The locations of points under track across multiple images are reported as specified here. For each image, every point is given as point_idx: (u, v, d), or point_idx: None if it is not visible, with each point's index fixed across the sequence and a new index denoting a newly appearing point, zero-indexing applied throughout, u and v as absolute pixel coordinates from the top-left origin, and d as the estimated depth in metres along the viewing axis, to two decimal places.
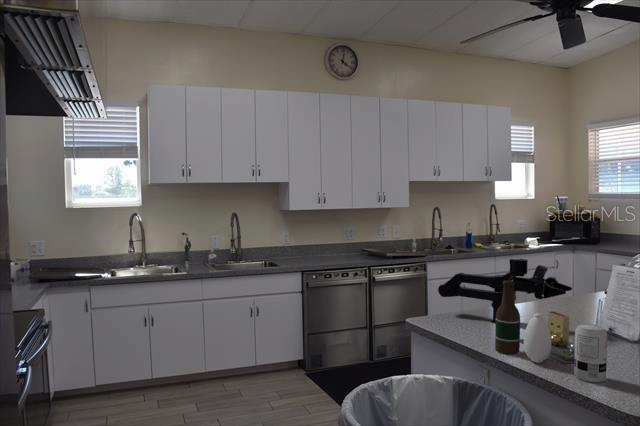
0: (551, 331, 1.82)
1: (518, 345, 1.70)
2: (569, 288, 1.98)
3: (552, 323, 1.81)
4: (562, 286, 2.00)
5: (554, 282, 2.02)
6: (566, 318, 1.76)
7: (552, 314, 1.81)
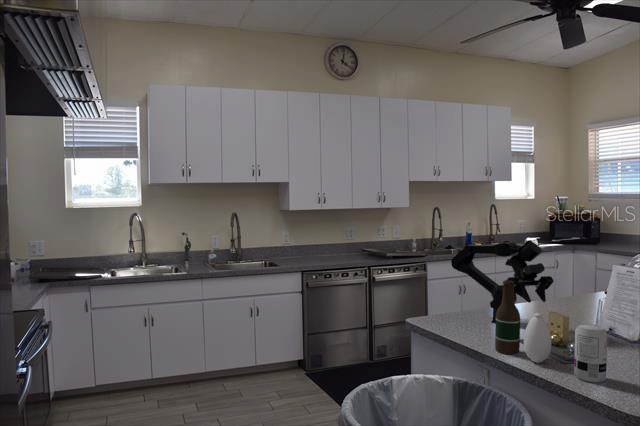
0: (551, 331, 1.82)
1: (518, 345, 1.70)
2: (543, 299, 1.93)
3: (552, 323, 1.81)
4: (541, 293, 1.94)
5: (540, 284, 1.96)
6: (566, 318, 1.76)
7: (552, 314, 1.81)
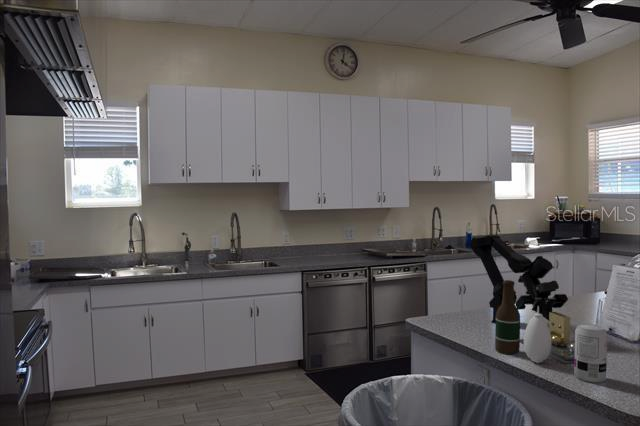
0: (552, 331, 1.81)
1: (518, 345, 1.70)
2: None
3: (553, 323, 1.81)
4: (548, 312, 1.86)
5: (547, 303, 1.87)
6: (567, 318, 1.75)
7: (553, 314, 1.81)
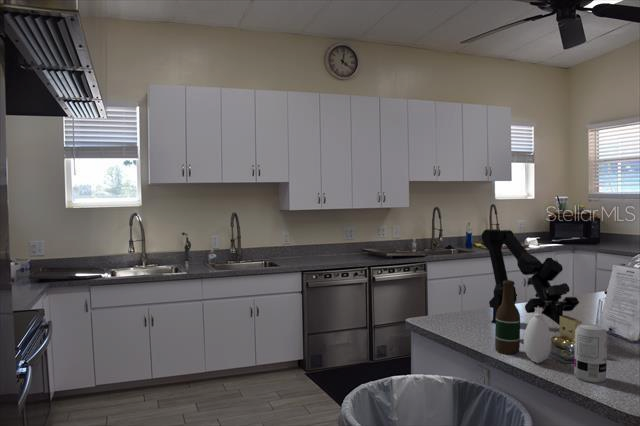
0: (563, 336, 1.76)
1: (518, 345, 1.70)
2: None
3: (564, 328, 1.75)
4: (559, 316, 1.80)
5: (557, 306, 1.81)
6: (578, 322, 1.70)
7: (564, 318, 1.75)
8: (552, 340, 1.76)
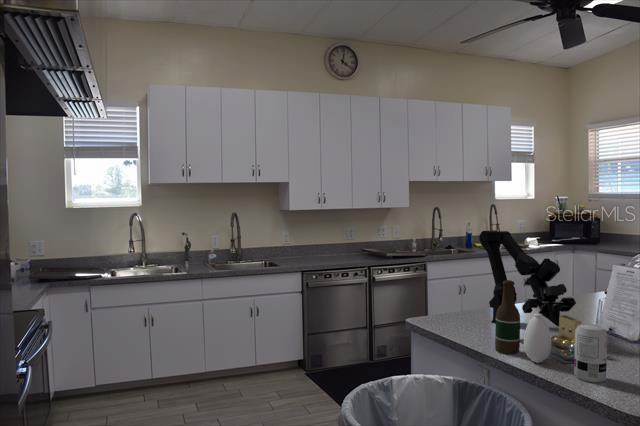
0: (562, 336, 1.76)
1: (518, 345, 1.70)
2: None
3: (563, 327, 1.75)
4: (556, 316, 1.81)
5: (555, 307, 1.83)
6: (578, 322, 1.70)
7: (563, 318, 1.75)
8: (551, 339, 1.77)
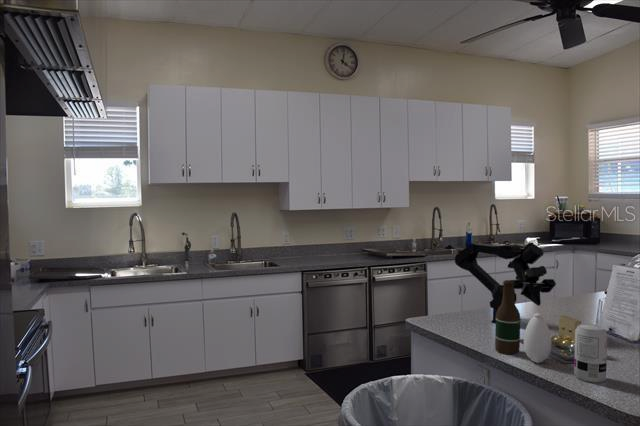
0: (562, 336, 1.76)
1: (518, 345, 1.70)
2: None
3: (563, 327, 1.75)
4: None
5: (535, 288, 1.94)
6: (578, 322, 1.70)
7: (563, 318, 1.75)
8: (551, 339, 1.77)
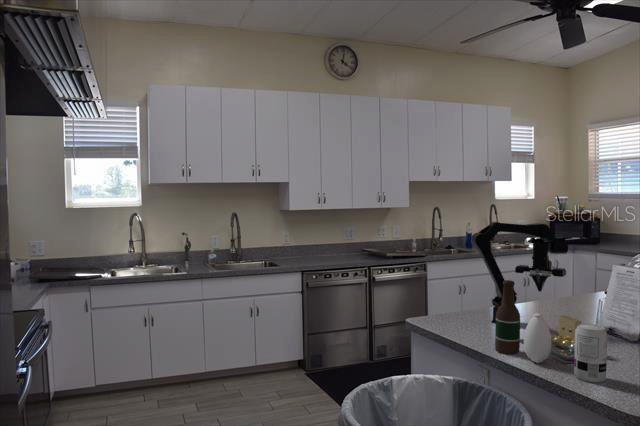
0: (562, 336, 1.76)
1: (518, 345, 1.70)
2: None
3: (563, 327, 1.75)
4: (539, 283, 2.11)
5: (539, 275, 2.12)
6: (578, 322, 1.70)
7: (563, 318, 1.75)
8: (551, 339, 1.77)
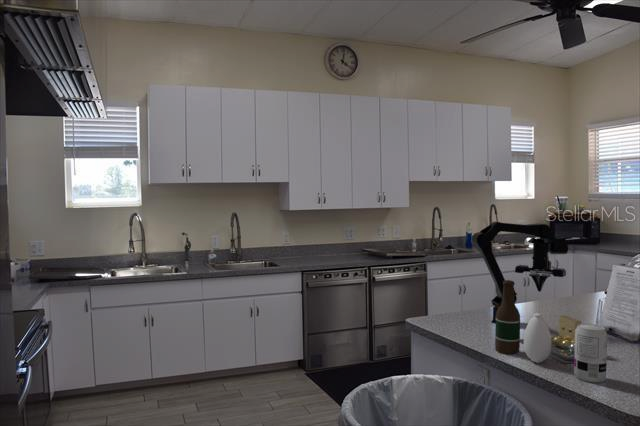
0: (562, 336, 1.76)
1: (518, 345, 1.70)
2: None
3: (563, 327, 1.75)
4: None
5: (539, 275, 2.12)
6: (578, 322, 1.70)
7: (563, 318, 1.75)
8: (551, 339, 1.77)
